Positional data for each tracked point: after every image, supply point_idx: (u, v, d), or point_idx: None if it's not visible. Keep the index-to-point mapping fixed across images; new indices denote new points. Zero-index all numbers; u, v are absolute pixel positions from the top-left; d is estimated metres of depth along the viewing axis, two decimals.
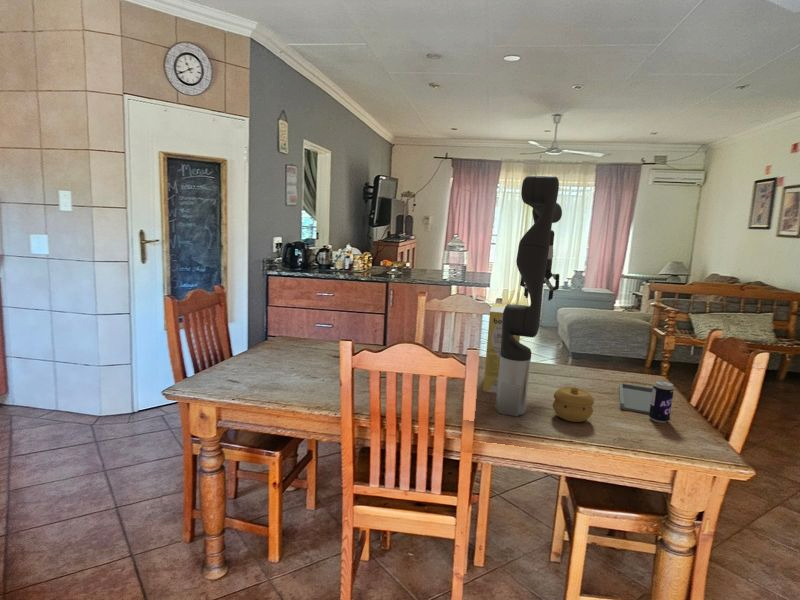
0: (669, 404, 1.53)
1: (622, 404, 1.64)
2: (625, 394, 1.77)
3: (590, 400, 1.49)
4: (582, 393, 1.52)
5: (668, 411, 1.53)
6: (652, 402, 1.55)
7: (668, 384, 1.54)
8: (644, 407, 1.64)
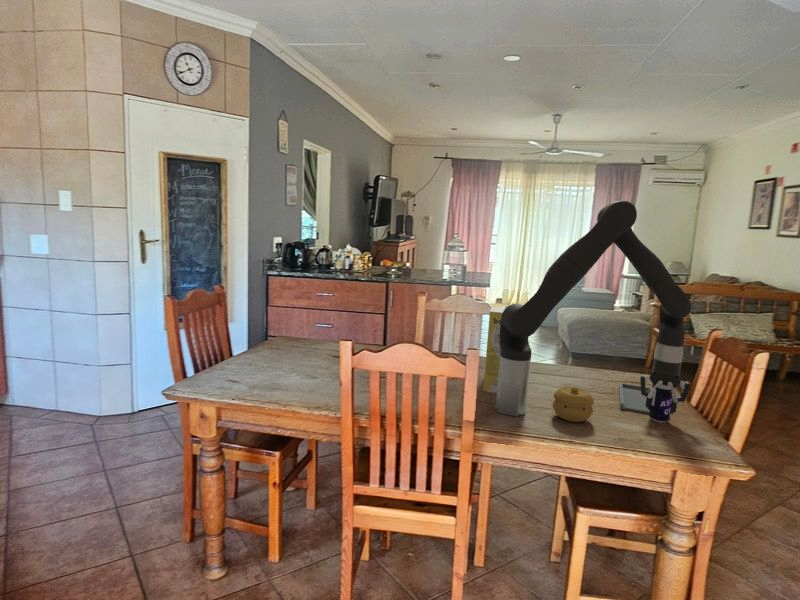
0: (669, 404, 1.53)
1: (622, 404, 1.64)
2: (625, 394, 1.77)
3: (590, 400, 1.49)
4: (582, 393, 1.52)
5: (668, 411, 1.53)
6: (652, 402, 1.55)
7: None
8: (644, 407, 1.64)
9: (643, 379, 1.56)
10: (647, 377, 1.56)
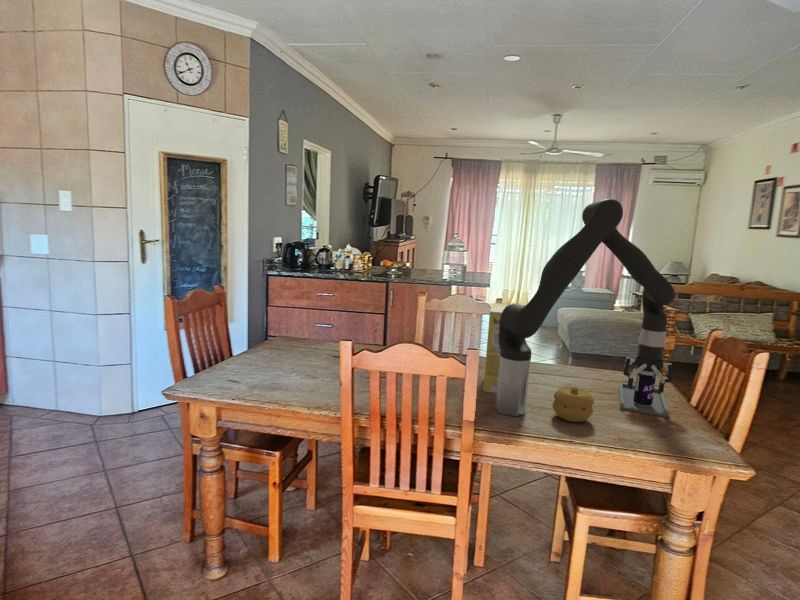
0: (652, 389, 1.64)
1: (622, 404, 1.64)
2: (625, 394, 1.77)
3: (590, 400, 1.49)
4: (582, 393, 1.52)
5: (651, 396, 1.64)
6: (636, 387, 1.66)
7: None
8: (644, 407, 1.64)
9: (628, 361, 1.66)
10: (632, 360, 1.66)
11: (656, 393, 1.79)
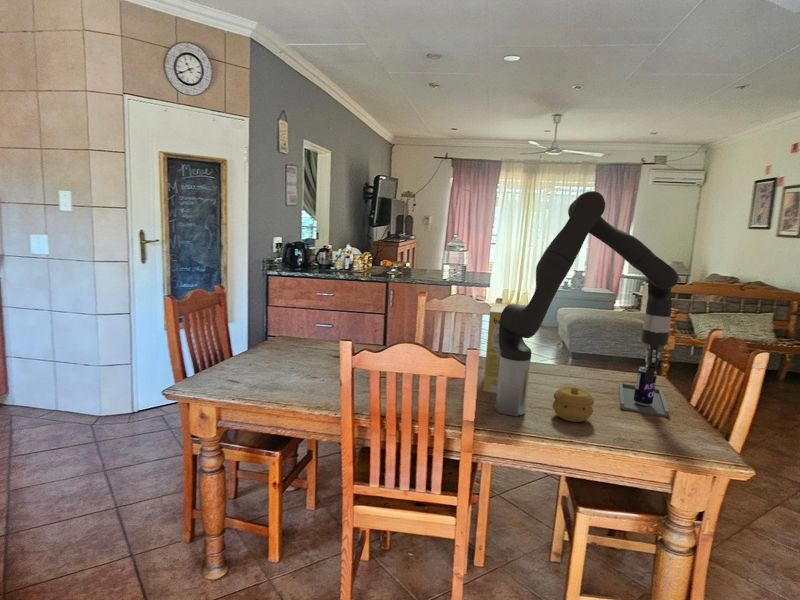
0: (652, 388, 1.64)
1: (622, 404, 1.64)
2: (625, 394, 1.77)
3: (590, 400, 1.49)
4: (582, 393, 1.52)
5: (651, 394, 1.64)
6: (637, 386, 1.66)
7: None
8: (644, 407, 1.64)
9: None
10: None
11: (656, 393, 1.79)
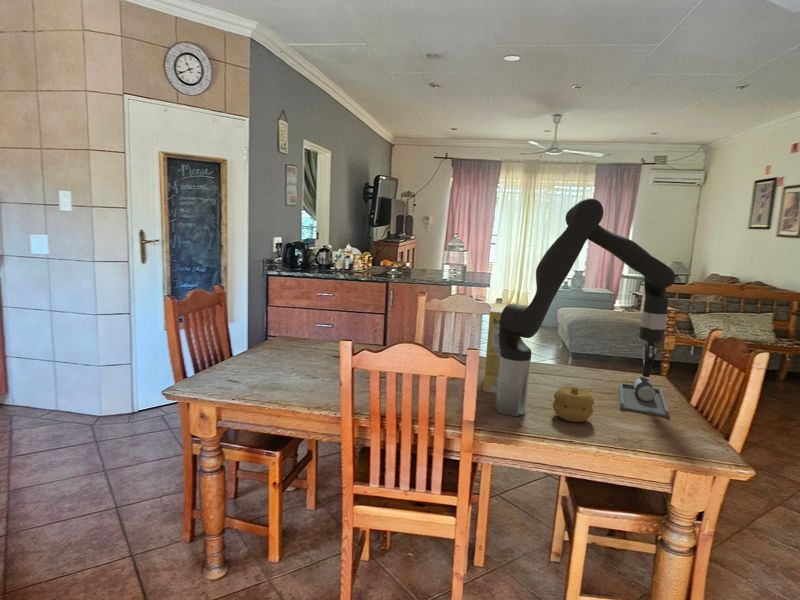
0: None
1: (622, 404, 1.64)
2: (625, 394, 1.77)
3: (590, 400, 1.49)
4: (582, 393, 1.52)
5: None
6: (639, 382, 1.74)
7: None
8: (644, 407, 1.64)
9: None
10: None
11: (656, 393, 1.79)
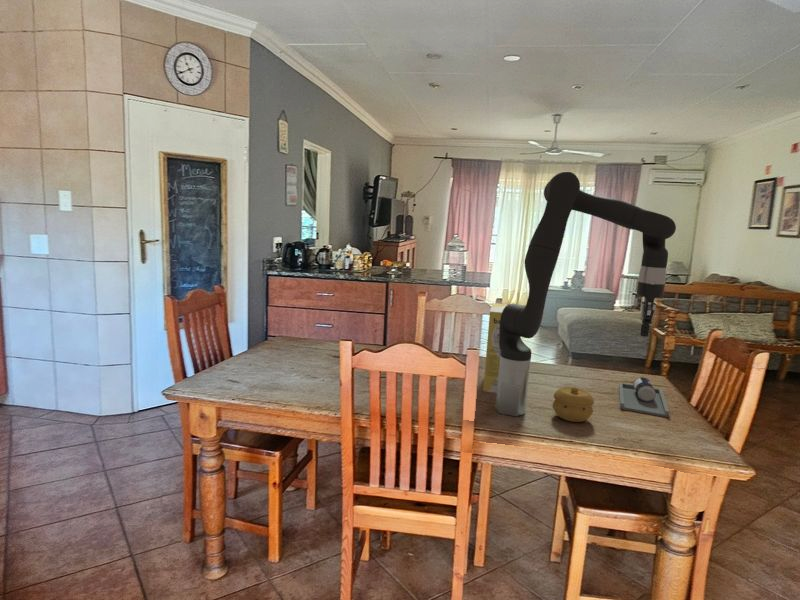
0: None
1: (622, 404, 1.64)
2: (625, 394, 1.77)
3: (590, 400, 1.49)
4: (582, 393, 1.52)
5: None
6: (639, 382, 1.74)
7: None
8: (644, 407, 1.64)
9: None
10: None
11: (656, 393, 1.79)
